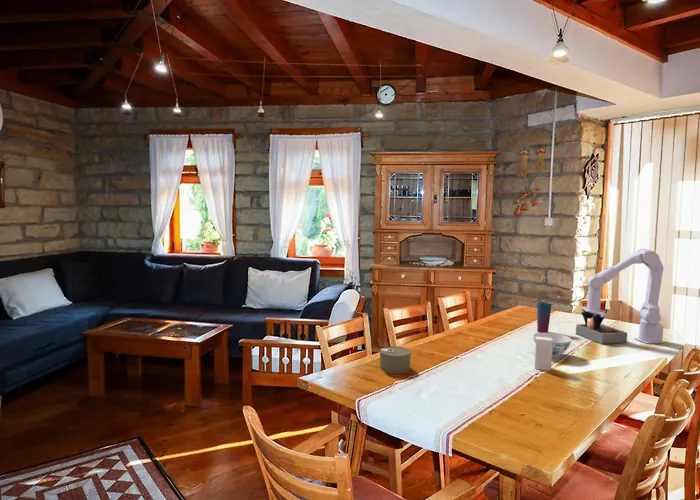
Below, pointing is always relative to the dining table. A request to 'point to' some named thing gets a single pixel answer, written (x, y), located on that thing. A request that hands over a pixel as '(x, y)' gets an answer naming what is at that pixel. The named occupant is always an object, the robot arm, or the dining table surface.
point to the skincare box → (543, 353)
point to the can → (395, 359)
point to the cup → (543, 316)
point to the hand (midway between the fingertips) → (592, 328)
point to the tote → (601, 335)
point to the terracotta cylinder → (590, 324)
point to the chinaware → (556, 342)
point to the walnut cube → (608, 330)
